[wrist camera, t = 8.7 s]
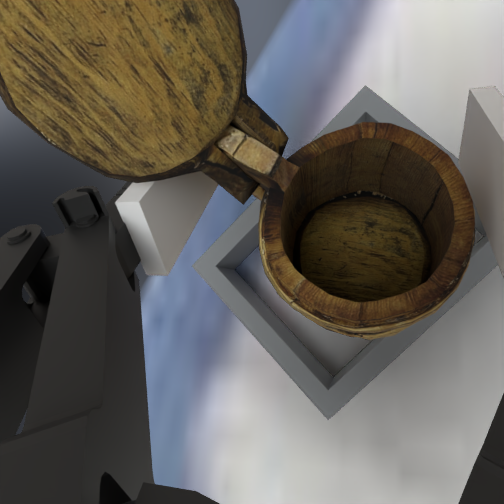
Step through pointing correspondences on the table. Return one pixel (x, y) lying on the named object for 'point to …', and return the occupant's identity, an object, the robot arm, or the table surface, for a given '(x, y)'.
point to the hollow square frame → (277, 333)
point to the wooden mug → (244, 153)
